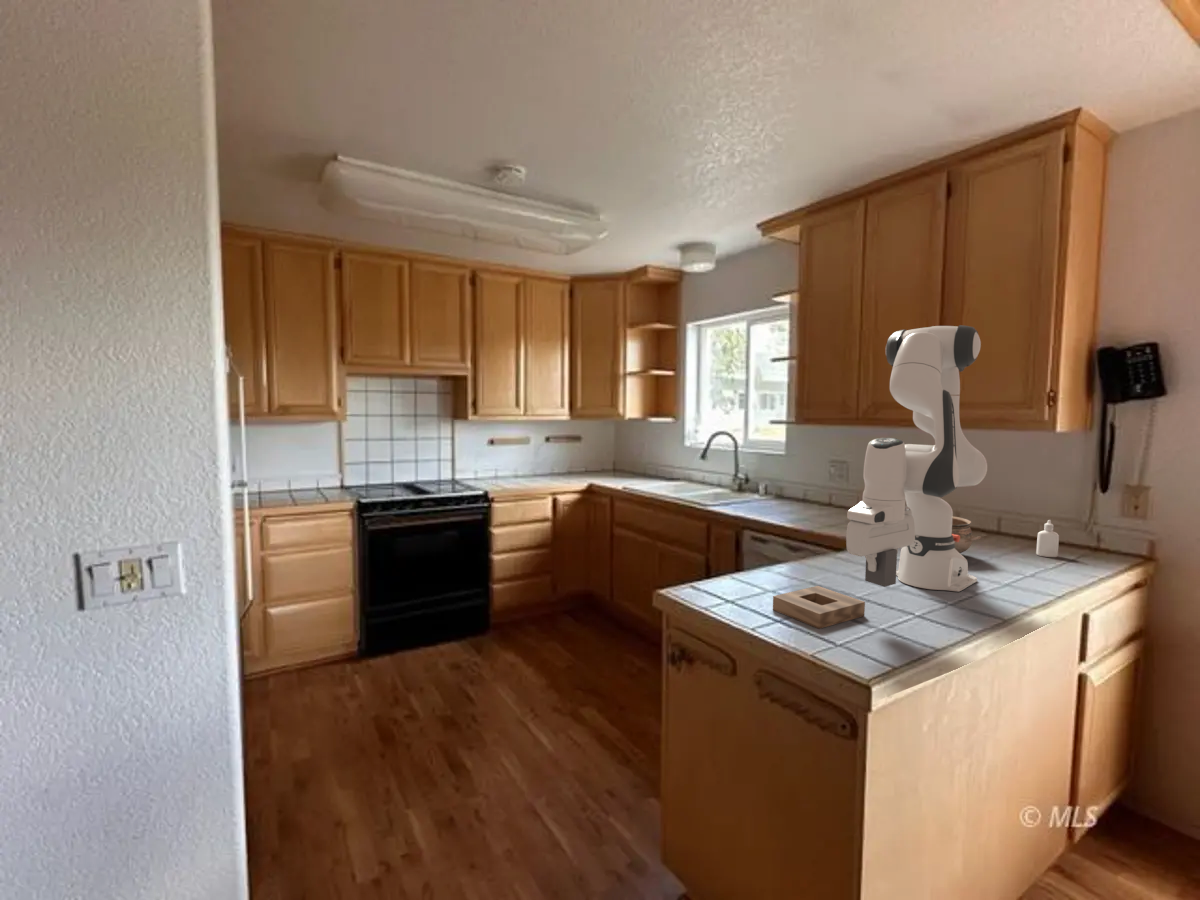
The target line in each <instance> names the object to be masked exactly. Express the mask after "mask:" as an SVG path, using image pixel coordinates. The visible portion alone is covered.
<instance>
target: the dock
mask: <svg viewBox="0 0 1200 900" xmlns="http://www.w3.org/2000/svg"><path fill="white" fill-rule="evenodd" d="M865 605H866V602H865V601H863V600H861V599H857V598H855V597H851V596H849V595H846V594H842V593H840V592H837V591H834V590H831V589H828V588H825V587H822V586H820V585H815V586H811V587H807V588H803V589H798V590H794V591H789V592H785V593H781V594H777V595H773V596H772V610H773V611H774V612H777V613H779V614H782V615H784V616H787V617H789V618H792V619H794V620H796V621H799V622H801V623H804V624H806V625H808V626H811V627H813V628H815V629H819V630H820V629H823V628H827V627H830V626H834V625H838V624H842V623H844V622H849V621H852V620H855V619H859V618H862V617H865V610H866V609H865V607H866V606H865Z"/></svg>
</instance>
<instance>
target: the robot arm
mask: <svg viewBox="0 0 1200 900" xmlns="http://www.w3.org/2000/svg"><path fill="white" fill-rule="evenodd" d="M981 344H982V341H981V339H980V335H979V331H977V329H976V328H975V327H974V326H969V325H961V324H959V325H958V326H956V325H955V326H954V325H935V326H934V325H932V326H928V327H920V328H919V327H918V328H913V329H908V330H907V329H900V330H897V331H894V332H893V333H892V334H891V335H890V336H889V337H888V338H887V342H886V345H885V357H886V360H887V363H888V364H889V365H890V366H891V367H892V369H891V373H890V378H889V392H890V395H891V396H892V398H893V399H894V401H895V402H897V403H898V404H900V405H901V406H903V407H904V408H906V409H908V410H910V411H912V422H913V423H914V425H915V426H916V427H917V428H918V429H919V430H921V431H923V432H925V433H927V434H929V435H931V437H933V440H934V444H933V445H932V444H915V443H913V444H912V443H906V444H905V442H904V441H903V439H899V438H896V437H880V438H878V437H877V438H874V439H872V440H870V441H869V442H868V444H867V446H866V451H865V456H864V463H863V481H864V490H863V492H862V500H860V501H859V502H858V503H857V504H856V505H855V506H853V507H851V508H850V509H848V510H847V513H846V516H847V517H846V518H847V520H850V521H849V522H848V523H847V527H846V539H845V541H846V542H845V544H846V550H847V552H848V554H850V555H853V556H857V557H865V561H866V560H867V562H868V570H869V571H872V572H875V571H878V570H879V568H878V567H879V564H878V563H876V559H875V557H877V553H879V552H883V551H887V550H891V549H897V554H898V553H899V549H900V555H899V562H898V567H897V568H898V569H896V577H897V579H898V580H899V582H901V583H903V584H906V585H909V586H912V587H915V588H920V589H927V590H936V591H937V590H938V591H951V592H961V591H963V590H965V589H967V588H968V587H970V586H971V585H973V584H975V583H977V582H978V578H977V577H976V576H974V575H972V574H969V563H968V559H966V557H964V556H963V554H962V553H959V552H958V551H957V550H956V549H955V542H959V540H960V536H959V535H954V534H952V518H953V516H954V511H953V509H952V506H951V505H950V504H949V502H947V501H946V500H944V499H942V497H945V496H947V495H949V494H950V493H953V492H954V491H955V490H956V489H957V488H961V487H973V486H977V485H979V484H980V483H981V482H982V481H983V480H984V479H985V477H986V475H987V472H988V462H987V458H986V457H985V456H984V454H983V452H982V451H980V450H979V449H977V448H976V447H975V446H974V445H972V443H970V441H969V440H968V439H967V437H966V436H965V434H964V432H963V429H962V426H961V422H960V421H961V420H960V398H961V397H960V394H961V380H960V379H961V378H960V373H961V372H964V370H965V369H966V368H967V367H969V366H971V365H972V364H973V363H974V362H976V361H977V358H978V355H979V353H980V351H981V347H982V345H981ZM954 541H955V542H954Z"/></svg>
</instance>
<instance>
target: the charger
mask: <svg viewBox="0 0 1200 900" xmlns="http://www.w3.org/2000/svg"><path fill="white" fill-rule="evenodd" d="M875 559H876V563H878V564H879V567H878V568H879V570H878V571H875V572H872V571H869V570H868V562H867V560H866V559H865V572H864V573H865V574H864V577H865V578H864V581H865V582H868V583H872V584H874V585H879V586H881V587H884V588H885V587H889V586H893V585H896V583H897V575H896V570H897V562H898V561H897V560H898V553H897V549H891V550H887V551H883V552H879V553H877V557H875Z"/></svg>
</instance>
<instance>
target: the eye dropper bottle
mask: <svg viewBox="0 0 1200 900" xmlns="http://www.w3.org/2000/svg"><path fill="white" fill-rule="evenodd" d="M1059 541H1060V535H1059V534H1058V532H1056V531H1054V524H1053V523H1052V520H1051V519H1048V520H1047V522H1046V523H1044V524H1043V530H1041V531H1039V532H1037V539H1036V551H1035V554H1036V555H1037V556H1039V557H1046V558H1057V557H1058V556H1059V543H1060V542H1059Z"/></svg>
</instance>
